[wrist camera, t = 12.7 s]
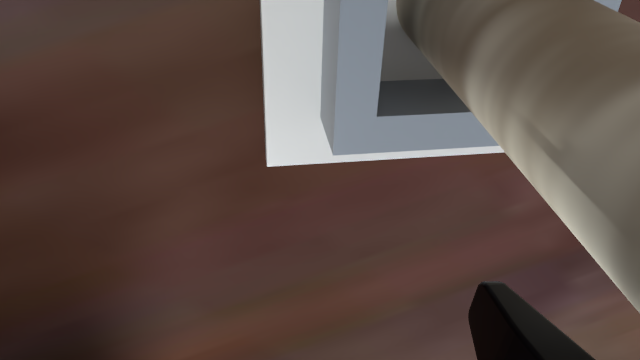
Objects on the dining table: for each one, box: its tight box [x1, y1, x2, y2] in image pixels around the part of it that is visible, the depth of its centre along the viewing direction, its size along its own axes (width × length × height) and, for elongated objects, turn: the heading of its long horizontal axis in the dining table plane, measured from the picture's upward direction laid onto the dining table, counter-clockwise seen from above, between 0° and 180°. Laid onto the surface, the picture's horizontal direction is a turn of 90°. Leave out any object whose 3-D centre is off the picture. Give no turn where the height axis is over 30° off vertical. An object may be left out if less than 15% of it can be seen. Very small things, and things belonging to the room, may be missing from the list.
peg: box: [396, 0, 640, 313], centre depth 14 cm, size 4×4×14 cm
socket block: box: [260, 0, 622, 167], centre depth 19 cm, size 14×14×4 cm
